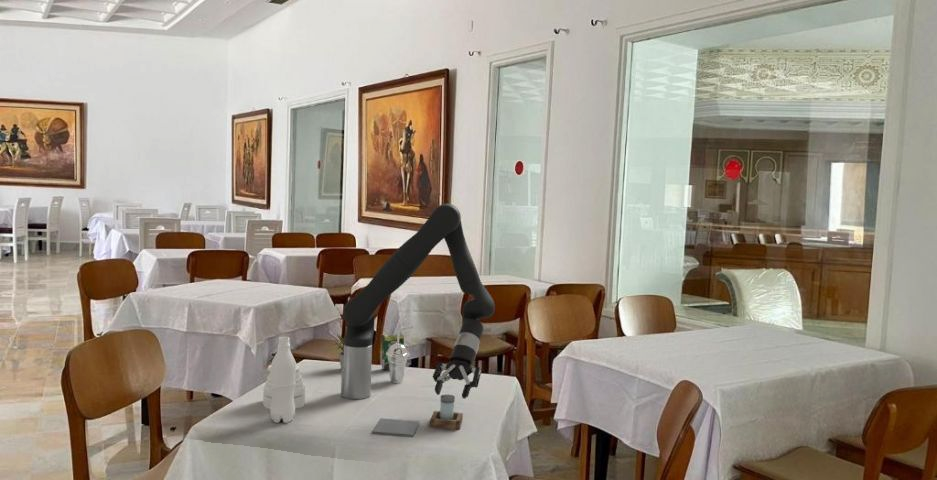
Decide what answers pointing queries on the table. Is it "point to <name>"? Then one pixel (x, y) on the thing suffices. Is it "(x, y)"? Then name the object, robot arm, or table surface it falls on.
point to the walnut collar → (446, 421)
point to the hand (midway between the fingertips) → (450, 395)
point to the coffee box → (386, 344)
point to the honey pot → (298, 392)
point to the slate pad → (396, 427)
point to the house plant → (341, 349)
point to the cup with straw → (397, 359)
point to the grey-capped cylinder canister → (447, 407)
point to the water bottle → (283, 383)
